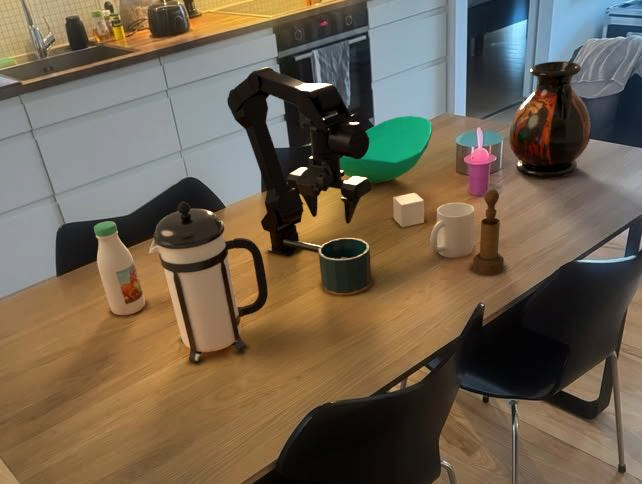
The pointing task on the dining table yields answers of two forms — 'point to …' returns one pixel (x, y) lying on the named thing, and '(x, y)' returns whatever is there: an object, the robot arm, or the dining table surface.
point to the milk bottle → (117, 271)
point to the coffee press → (204, 279)
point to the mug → (453, 230)
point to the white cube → (408, 209)
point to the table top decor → (390, 149)
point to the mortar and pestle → (489, 239)
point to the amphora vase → (550, 124)
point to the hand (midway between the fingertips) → (331, 219)
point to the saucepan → (341, 264)
